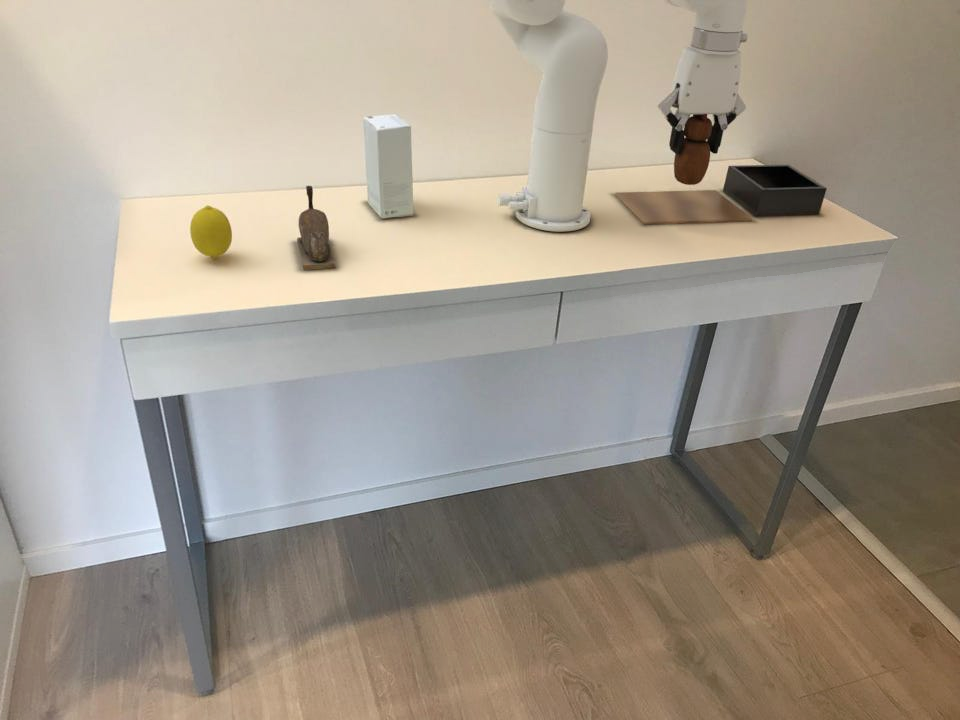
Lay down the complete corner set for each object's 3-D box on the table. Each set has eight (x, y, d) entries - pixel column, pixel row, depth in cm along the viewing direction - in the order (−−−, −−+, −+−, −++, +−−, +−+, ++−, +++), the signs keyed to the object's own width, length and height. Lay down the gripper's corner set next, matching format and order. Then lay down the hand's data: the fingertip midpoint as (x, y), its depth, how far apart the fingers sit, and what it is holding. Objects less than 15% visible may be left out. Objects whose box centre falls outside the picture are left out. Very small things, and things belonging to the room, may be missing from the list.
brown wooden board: (644, 224, 134) (644, 222, 134) (615, 194, 146) (615, 192, 145) (751, 221, 138) (752, 218, 138) (715, 192, 150) (715, 190, 150)
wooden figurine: (669, 173, 143) (685, 88, 135) (702, 176, 142) (719, 90, 134) (672, 186, 137) (688, 97, 129) (706, 189, 136) (724, 101, 128)
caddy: (755, 216, 140) (762, 189, 137) (722, 191, 150) (728, 165, 148) (818, 214, 143) (827, 188, 140) (782, 189, 153) (789, 164, 150)
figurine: (294, 231, 124) (290, 177, 119) (323, 229, 125) (321, 176, 120) (303, 270, 113) (299, 212, 108) (335, 268, 114) (333, 211, 109)
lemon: (197, 269, 111) (189, 215, 107) (192, 253, 115) (184, 200, 111) (237, 264, 113) (231, 211, 109) (231, 248, 117) (225, 197, 113)
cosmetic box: (414, 216, 132) (415, 126, 124) (378, 220, 129) (377, 129, 122) (398, 198, 138) (398, 112, 130) (364, 201, 136) (362, 114, 128)
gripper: (752, 36, 132) (729, 144, 141) (655, 35, 128) (638, 145, 138) (775, 46, 126) (749, 157, 135) (674, 45, 122) (655, 159, 132)
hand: (693, 150), depth 137 cm, fingers closed on wooden figurine, 6 cm apart
